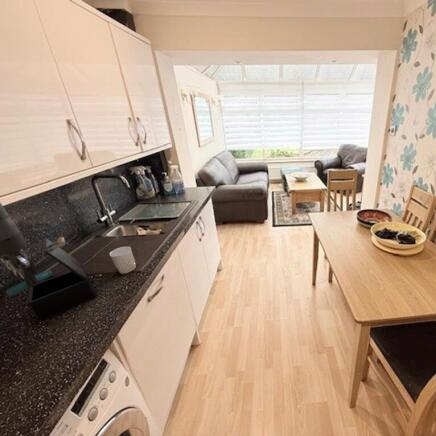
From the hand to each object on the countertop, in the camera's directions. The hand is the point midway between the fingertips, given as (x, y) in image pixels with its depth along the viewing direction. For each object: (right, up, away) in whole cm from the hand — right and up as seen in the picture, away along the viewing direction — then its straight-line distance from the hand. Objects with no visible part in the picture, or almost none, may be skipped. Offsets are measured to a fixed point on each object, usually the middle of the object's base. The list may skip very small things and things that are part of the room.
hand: (31, 284), depth 72 cm
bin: (-7, -12, +20) cm, 24 cm away
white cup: (+4, -4, +37) cm, 37 cm away
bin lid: (-5, +5, +16) cm, 17 cm away
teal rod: (0, 0, 0) cm, 1 cm away
